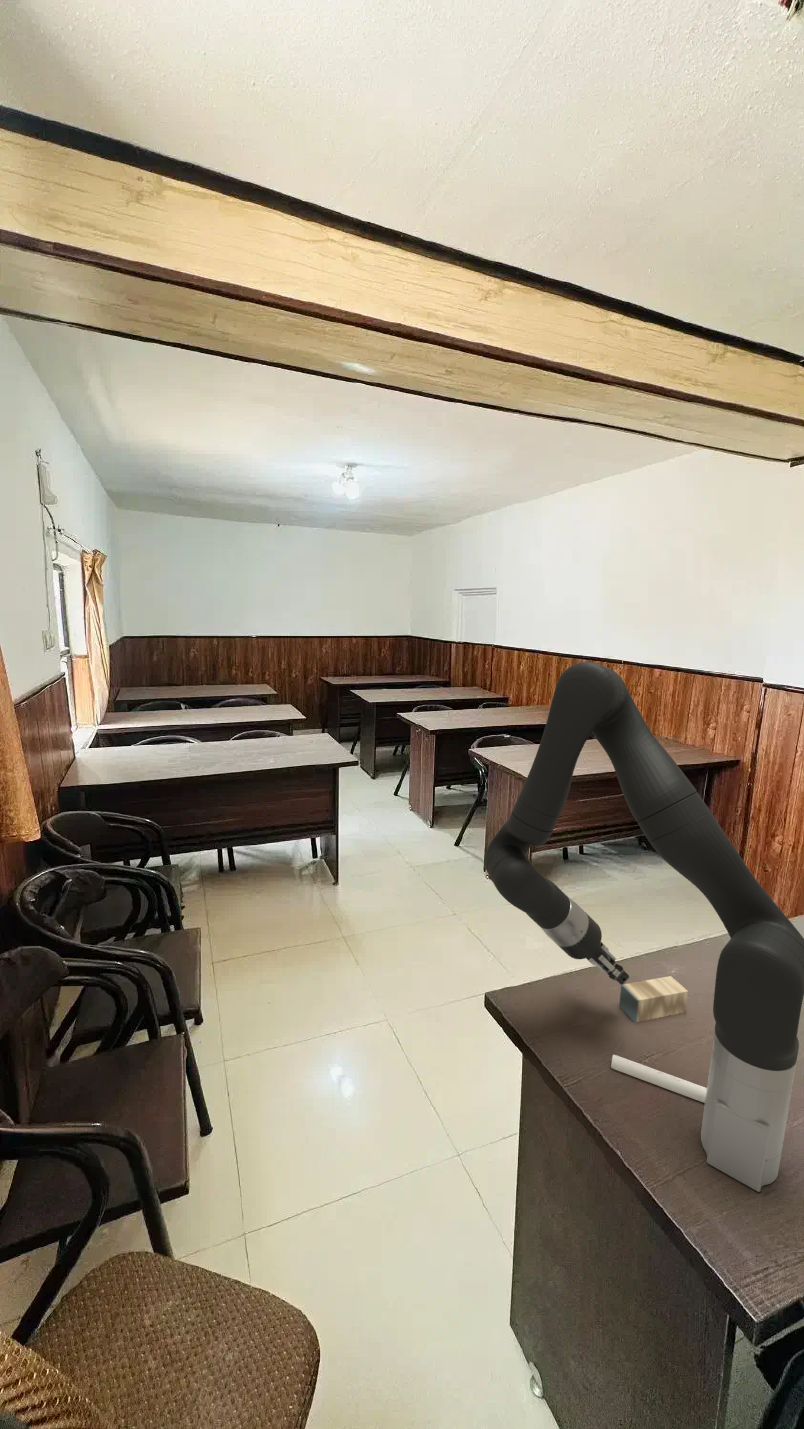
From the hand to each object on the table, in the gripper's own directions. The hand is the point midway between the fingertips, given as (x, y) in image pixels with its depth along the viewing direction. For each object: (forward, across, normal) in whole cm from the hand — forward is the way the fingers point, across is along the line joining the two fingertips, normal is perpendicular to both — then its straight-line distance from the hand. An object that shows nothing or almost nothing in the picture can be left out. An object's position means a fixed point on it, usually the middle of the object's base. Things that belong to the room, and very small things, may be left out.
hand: (623, 978), depth 101 cm
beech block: (+5, 0, +3) cm, 6 cm away
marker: (+4, -16, +7) cm, 18 cm away
